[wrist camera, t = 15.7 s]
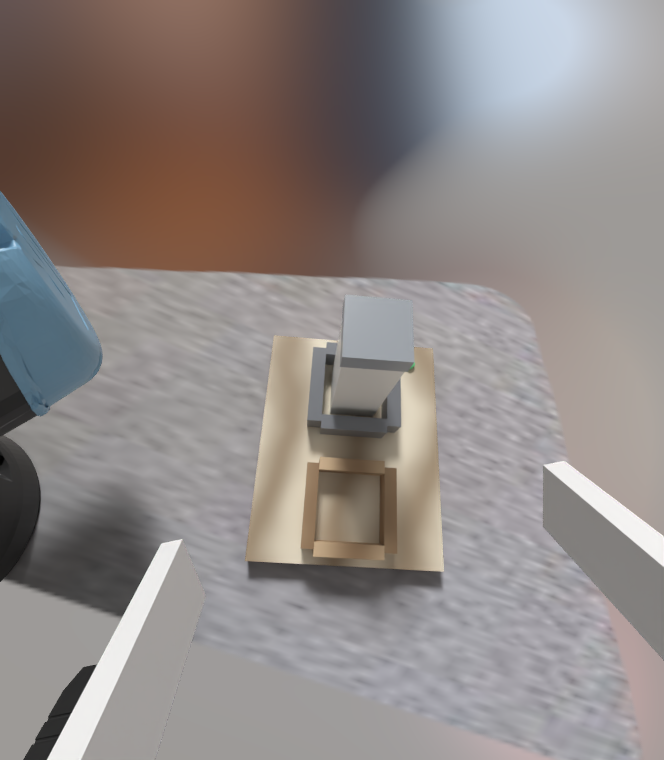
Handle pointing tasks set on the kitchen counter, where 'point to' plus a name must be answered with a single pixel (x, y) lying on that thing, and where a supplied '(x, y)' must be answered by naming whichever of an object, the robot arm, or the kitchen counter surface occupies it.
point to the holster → (386, 510)
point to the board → (340, 490)
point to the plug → (370, 353)
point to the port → (348, 424)
